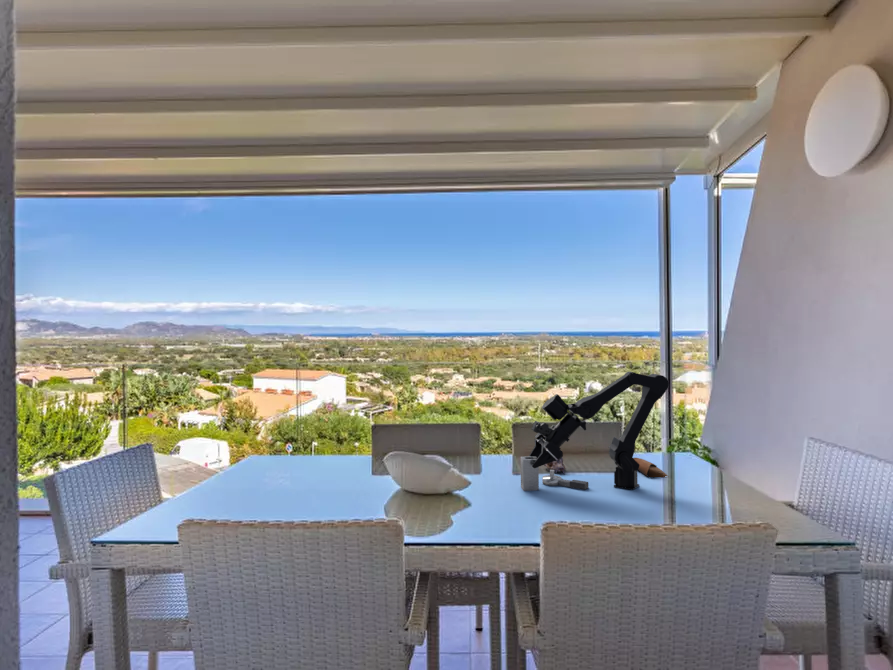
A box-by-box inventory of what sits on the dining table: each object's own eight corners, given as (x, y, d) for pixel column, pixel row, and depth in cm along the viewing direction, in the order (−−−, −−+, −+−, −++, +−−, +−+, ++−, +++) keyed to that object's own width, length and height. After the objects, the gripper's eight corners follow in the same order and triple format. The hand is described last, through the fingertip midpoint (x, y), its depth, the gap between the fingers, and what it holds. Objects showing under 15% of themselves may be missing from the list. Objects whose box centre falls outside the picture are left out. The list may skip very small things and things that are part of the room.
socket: (535, 486, 199) (535, 456, 198) (538, 490, 194) (538, 459, 193) (520, 486, 198) (520, 456, 198) (523, 490, 193) (523, 459, 193)
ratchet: (590, 486, 197) (590, 473, 197) (582, 491, 192) (582, 477, 192) (547, 480, 207) (547, 467, 207) (539, 484, 202) (538, 470, 202)
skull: (569, 474, 214) (568, 457, 214) (547, 475, 214) (547, 458, 214) (562, 467, 226) (562, 450, 226) (542, 467, 226) (542, 451, 226)
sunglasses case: (671, 477, 209) (661, 460, 208) (654, 487, 208) (644, 471, 208) (650, 465, 227) (641, 450, 226) (634, 475, 226) (625, 460, 226)
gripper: (541, 408, 205) (509, 441, 205) (552, 417, 187) (517, 452, 186) (563, 431, 206) (531, 464, 205) (577, 442, 187) (542, 477, 187)
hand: (530, 464), depth 196 cm, fingers open, 9 cm apart
